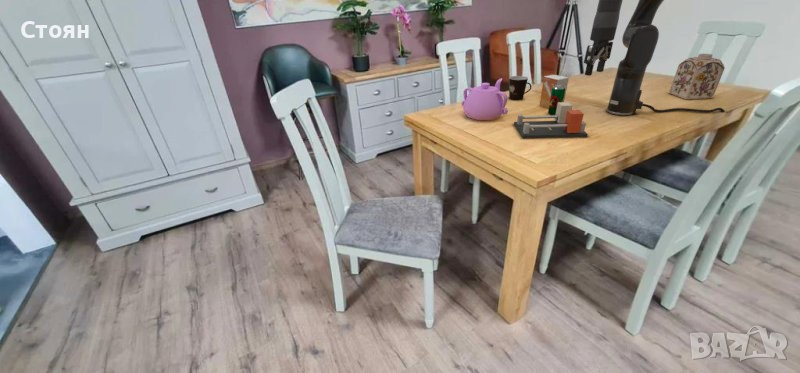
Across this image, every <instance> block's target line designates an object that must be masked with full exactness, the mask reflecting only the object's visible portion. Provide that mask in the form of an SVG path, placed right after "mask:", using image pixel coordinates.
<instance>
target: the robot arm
mask: <svg viewBox="0 0 800 373" xmlns="http://www.w3.org/2000/svg"><path fill="white" fill-rule="evenodd" d="M664 1H665V0H638V2H637V5H636V7H635V9H634V10H633V11H634V12H633V13H632V16H631V18H630V19H629V21H628V23H627V26H626V28H625V30H624V31H623V35H622V37H621V38H622V39H621V42H622V45H623V46H624V47H625V48H627V50H626V54H625V56H624V58H623V59H622V60H620V61H619V63H618V66H617V69H616V74H615V77H614V81H613V86H612V89H611V93H610V97H609V101H608V105H607V108H606V112H607V113H608V114H610V115H614V116H622V117H623V116H631V115H636V113H637V110H642V108H643V107H645V108H648V109H650V110H651V111H653V112H655V113H669V112H676V111H680V112H681V111H683V112H694V113H714V112H717V111H719V112H721V113H725V112H726V111H725V109H724V108H722V107H716V108H713V109H697V108H685V107H674V108H667V109H656V108H655V107H654V106H652V105H650V104H646V103H644V102H643V101H641V100H640V99H641V95H642V92H643V89H641V87H642V83H643V81H644V77H645V75H646V70H647V67H648V65H649V64H650V63H651V61H652V58H653V56H654V53H655V51H656V47H657V44H658V42H659V38H660V37H659V36H660V32H659V28H658V27H657V26H656V25H654V24H653V22H654V19H655V16H656V14H657V12H658V9H659V8H660V6H661V5H662V3H663V2H664ZM622 5H623V0H598V2H597V8H596V11H595V12H596V13H595V15H594V18H593V23H592V28H591V32H590V36H589V40H590V41H592V45H591V44H590V45H589V44H588V45H587V47H586V50H585V55H584V59H583V64H585V65H586V66H585V71H584V75H585V76H588V77H590V76H592V75H593V72H594V71H593V70H594V65H595V63H596V61H597V60H598V62H597V66H596V72H597V73H603V72H604V69H605V67H606V66H605V65H606V62H607V61H608V60H610V59H611V55H612V54H611V53H612V51H613V50H612V49H613V45H614V40H615V37H616V32H617V28H618V25H619V21H620V12H621V9H622Z"/></svg>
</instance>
